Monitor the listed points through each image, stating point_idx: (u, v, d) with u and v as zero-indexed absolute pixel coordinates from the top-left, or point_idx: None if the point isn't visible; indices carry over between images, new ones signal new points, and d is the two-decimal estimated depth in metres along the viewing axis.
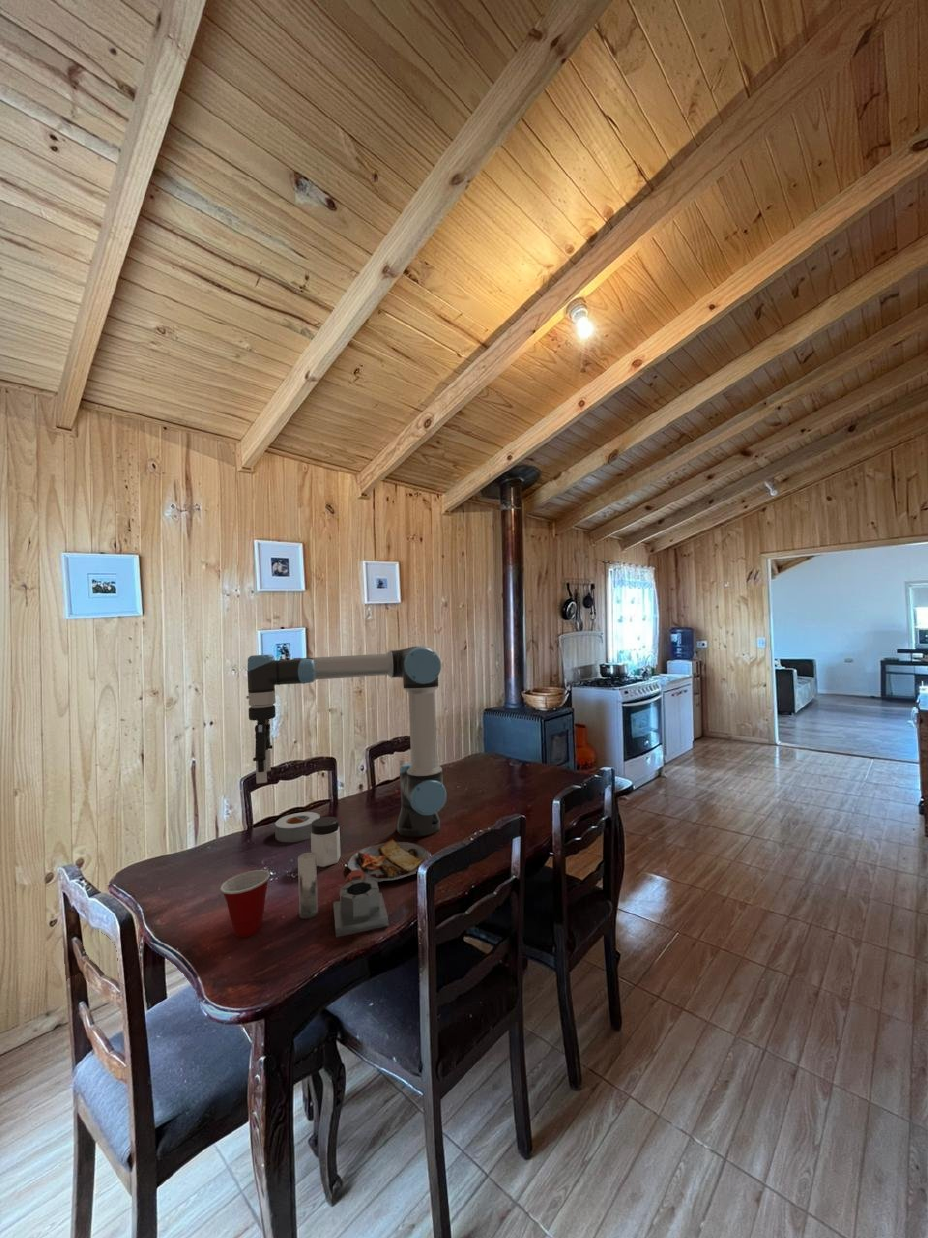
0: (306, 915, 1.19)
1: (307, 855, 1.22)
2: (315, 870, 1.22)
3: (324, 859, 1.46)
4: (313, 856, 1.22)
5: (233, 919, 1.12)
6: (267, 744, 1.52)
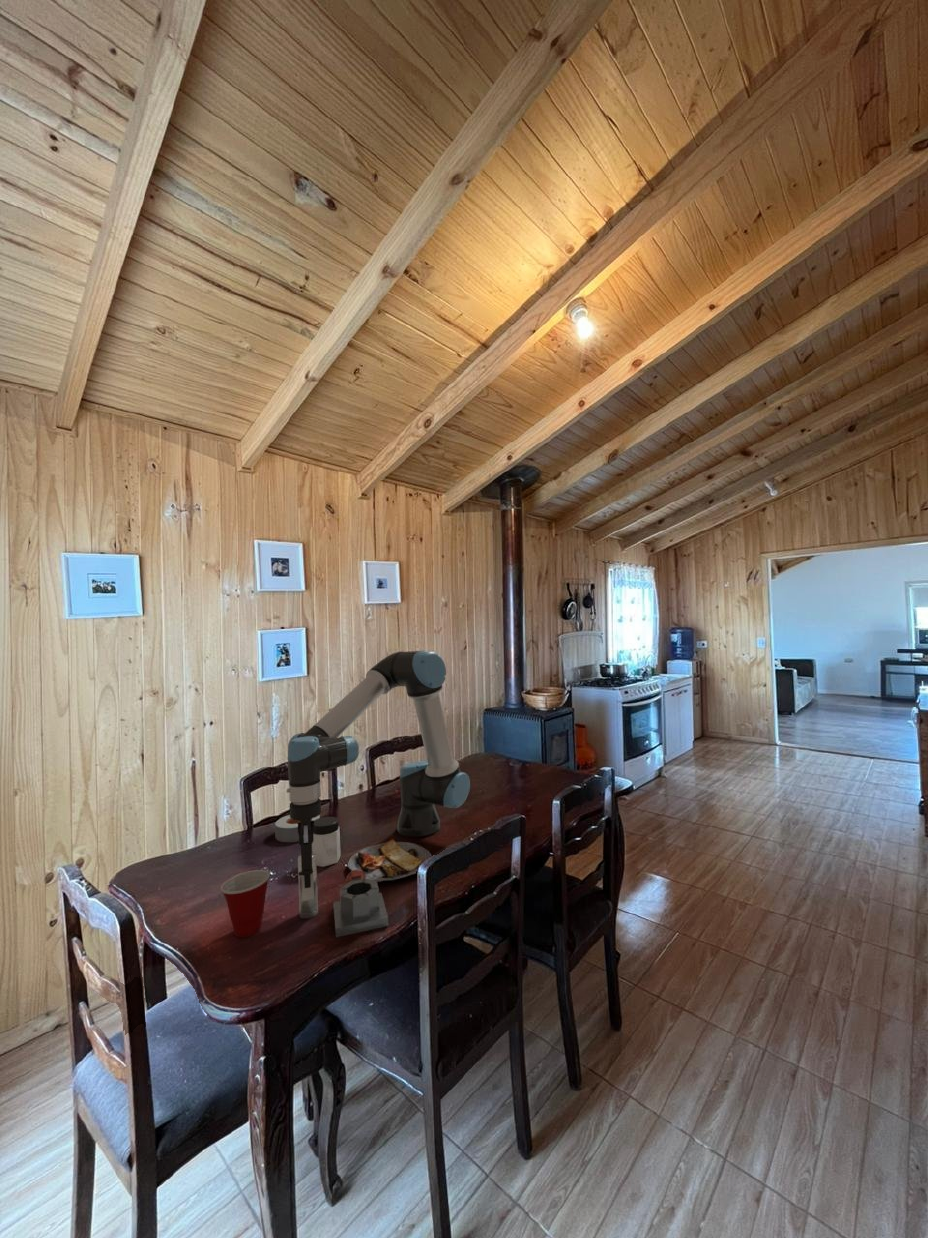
0: (306, 915, 1.19)
1: None
2: (315, 870, 1.22)
3: (324, 859, 1.46)
4: (313, 856, 1.22)
5: (233, 919, 1.12)
6: None
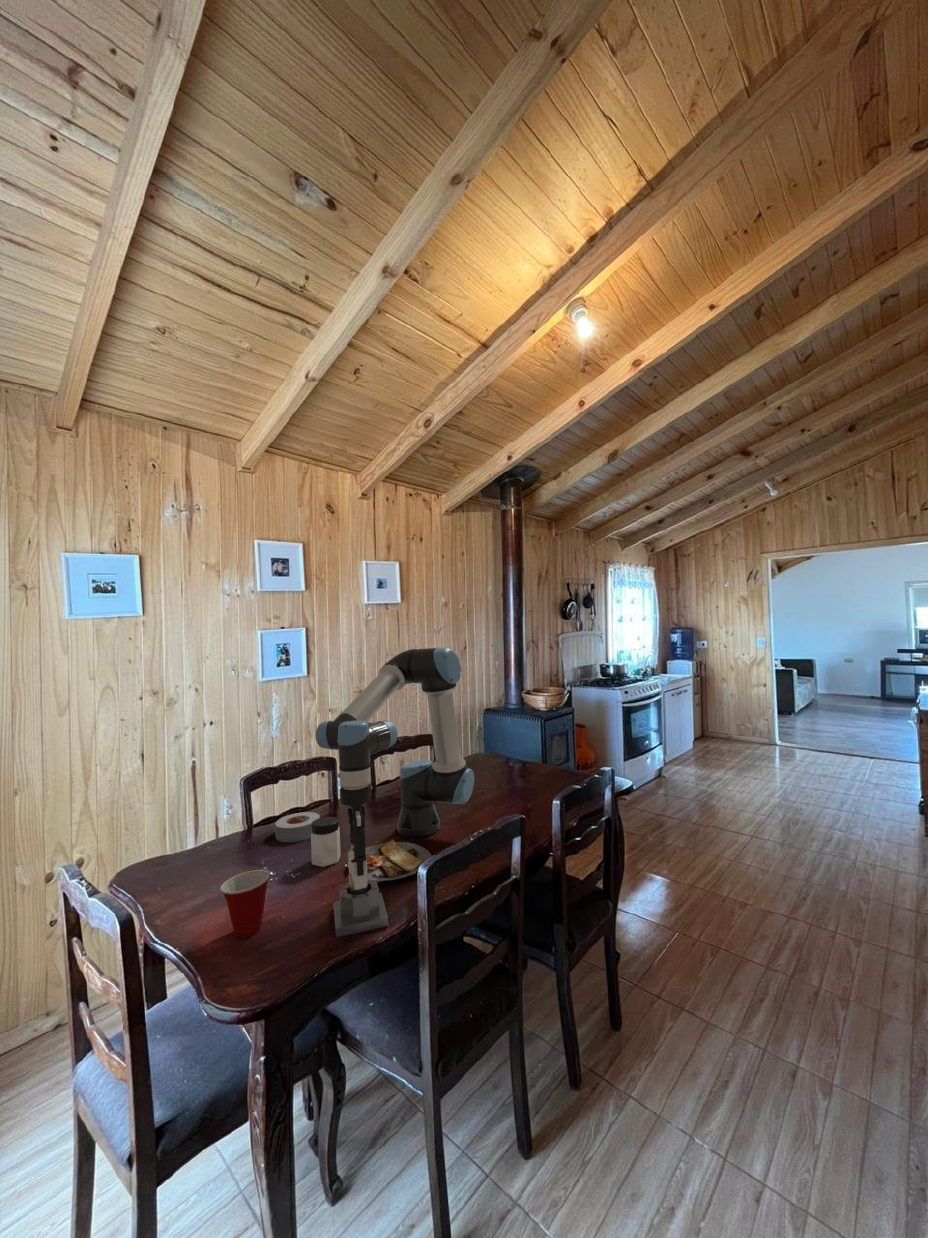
0: None
1: None
2: (366, 865, 1.18)
3: (324, 859, 1.46)
4: None
5: (233, 919, 1.12)
6: None
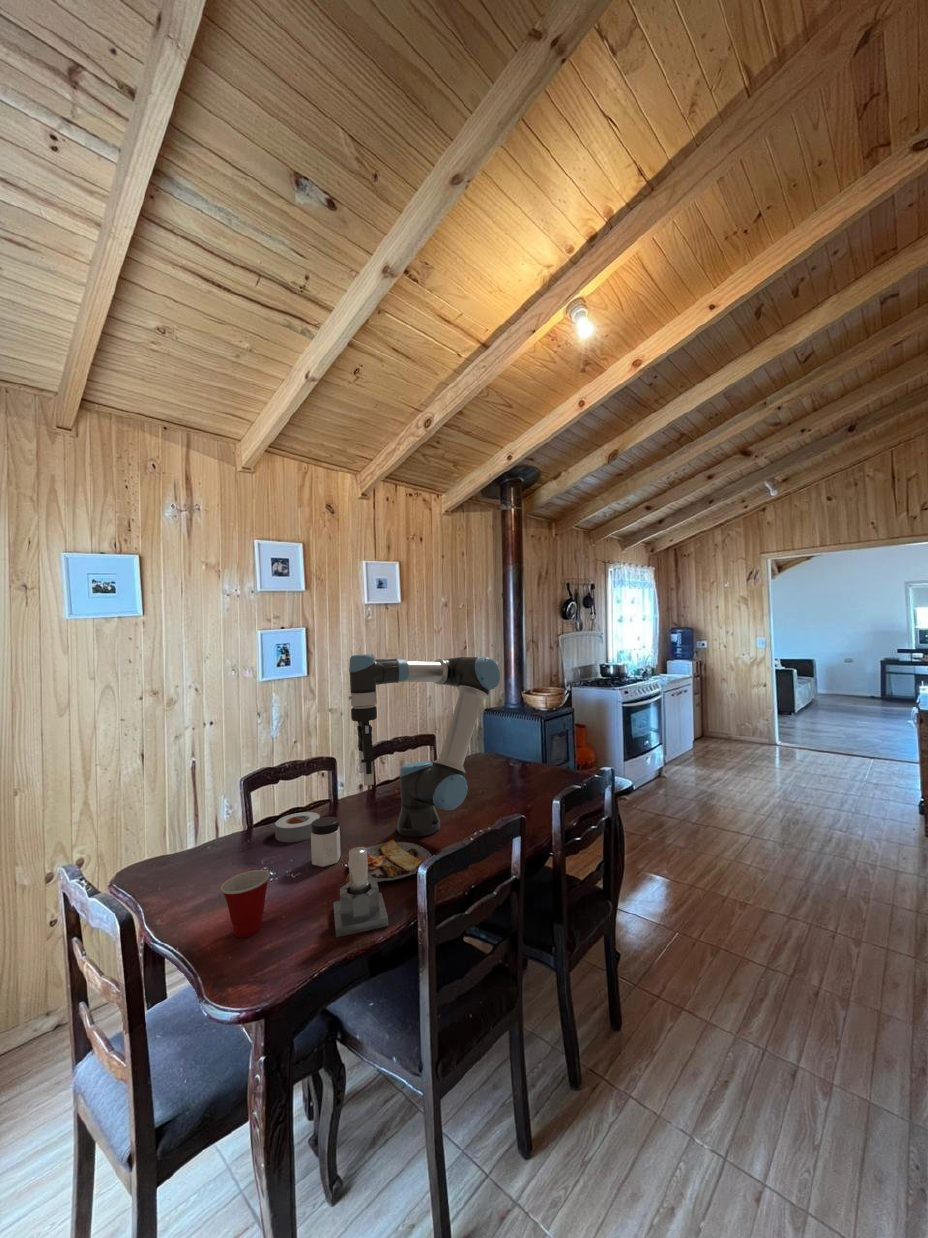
0: None
1: (358, 850, 1.19)
2: (366, 865, 1.19)
3: (324, 859, 1.46)
4: (364, 850, 1.19)
5: (233, 919, 1.12)
6: None
